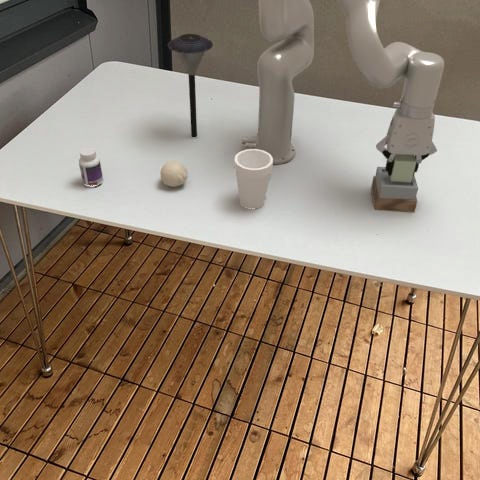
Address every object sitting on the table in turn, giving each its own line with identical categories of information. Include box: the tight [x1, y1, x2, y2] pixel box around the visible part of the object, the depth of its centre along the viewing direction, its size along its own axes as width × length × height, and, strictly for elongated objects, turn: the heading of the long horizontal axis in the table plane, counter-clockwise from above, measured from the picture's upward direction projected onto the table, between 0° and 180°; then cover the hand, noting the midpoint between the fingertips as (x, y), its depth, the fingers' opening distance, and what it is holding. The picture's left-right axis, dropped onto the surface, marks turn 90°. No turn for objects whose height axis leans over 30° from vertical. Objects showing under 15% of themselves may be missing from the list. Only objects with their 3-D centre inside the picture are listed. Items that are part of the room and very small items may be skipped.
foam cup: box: [233, 148, 274, 210], centre depth 144 cm, size 10×9×13 cm
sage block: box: [390, 154, 416, 182], centre depth 143 cm, size 5×5×6 cm
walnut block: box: [370, 175, 418, 213], centre depth 149 cm, size 10×10×4 cm
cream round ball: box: [160, 160, 189, 188], centre depth 151 cm, size 7×7×7 cm
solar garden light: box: [167, 33, 214, 138], centre depth 162 cm, size 12×12×30 cm
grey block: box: [374, 166, 419, 200], centre depth 146 cm, size 9×9×4 cm
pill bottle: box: [78, 146, 104, 186], centre depth 150 cm, size 5×5×10 cm
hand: (400, 172), depth 144 cm, fingers closed on sage block, 4 cm apart
